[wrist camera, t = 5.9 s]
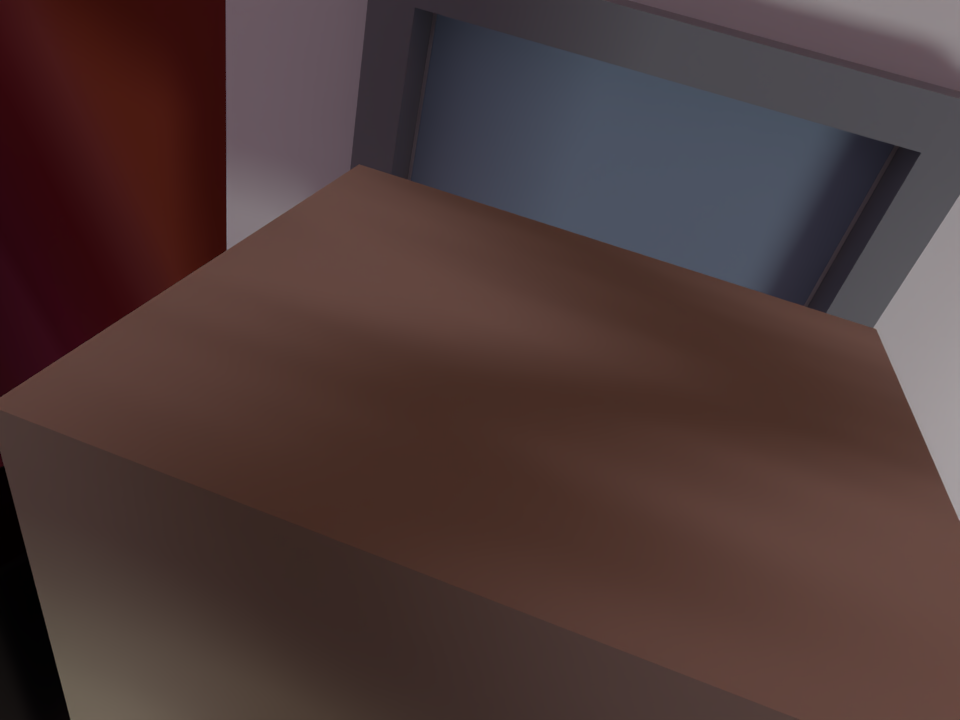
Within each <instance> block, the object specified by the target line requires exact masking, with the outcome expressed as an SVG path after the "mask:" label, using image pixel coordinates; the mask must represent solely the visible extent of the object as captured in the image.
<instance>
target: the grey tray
mask: <svg viewBox="0 0 960 720" xmlns="http://www.w3.org/2000/svg"><path fill="white" fill-rule="evenodd" d="M359 164H360V165H363V166H366V167H369V168H372V169H376V170H379V171H382V172H385V173H388V174H391V175H394V176H397V177H401V178H404V179H407V180H410V181H413V182H416V183H419V184H423V185H426V186H429V187H432V188H435V189H438V190H441V191H445V192H448V193H451V194H454V195H457V196H460V197H463V198H466V199H470V200H473V201H476V202H479V203H482V204H485V205H488V206H492V207H495V208H498V209H501V210H504V211H507V212H510V213H514V214H517V215H520V216H523V217H526V218H529V219H532V220H535V221H539V222H542V223H545V224H548V225H551V226H554V227H557V228H561V229H564V230H567V231H570V232H573V233H576V234H579V235H583V236H586V237H589V238H592V239H595V240H598V241H601V242H604V243H608V244H611V245H614V246H617V247H620V248H623V249H626V250H630V251H633V252H636V253H639V254H642V255H645V256H648V257H652V258H655V259H658V260H661V261H664V262H667V263H670V264H673V265H677V266H680V267H683V268H686V269H689V270H692V271H695V272H699V273H702V274H705V275H708V276H711V277H714V278H717V279H720V280H724V281H727V282H730V283H733V284H736V285H739V286H742V287H746V288H749V289H752V290H755V291H758V292H761V293H764V294H768V295H771V296H774V297H777V298H780V299H783V300H786V301H789V302H793V303H796V304H799V305H802V306H805V307H808V308H811V309H815V310H818V311H821V312H824V313H827V314H830V315H833V316H837V317H840V318H843V319H846V320H849V321H852V322H855V323H858V324H862V325H865V326H868V327H871V328H874V329H876V330H877V332H878V334H879V337H880V339H881V341H882V344H883V346H884V348H885V350H886V353H887V355H888V357H889V360H890V362H891V364H892V367H893V369H894V371H895V374H896V376H897V378H898V380H899V383H900V385H901V387H902V390H903V392H904V394H905V397H906V399H907V401H908V403H909V406H910V408H911V410H912V413H913V415H914V417H915V420H916V422H917V424H918V427H919V429H920V431H921V433H922V436H923V438H924V440H925V443H926V445H927V447H928V450H929V452H930V454H931V456H932V459H933V461H934V463H935V466H936V468H937V470H938V473H939V475H940V477H941V480H942V482H943V484H944V486H945V489H946V491H947V493H948V496H949V498H950V500H951V503H952V505H953V507H954V510H955V512H956V514H957V516H958V519H959V521H960V0H226V209H227V250H228V249H230V248H231V247H233V246H234V245H236V244H237V243H239V242H240V241H242V240H243V239H245V238H246V237H248V236H250V235H251V234H253V233H254V232H256V231H257V230H259V229H260V228H262V227H263V226H265V225H266V224H268V223H270V222H271V221H273V220H274V219H276V218H277V217H279V216H280V215H282V214H283V213H285V212H286V211H288V210H290V209H291V208H293V207H294V206H296V205H297V204H299V203H300V202H302V201H303V200H305V199H306V198H308V197H310V196H311V195H313V194H314V193H316V192H317V191H319V190H320V189H322V188H323V187H325V186H326V185H328V184H330V183H331V182H333V181H334V180H336V179H337V178H339V177H340V176H342V175H343V174H345V173H346V172H348V171H350V170H351V169H353V168H354V167H356V166H357V165H359Z"/></svg>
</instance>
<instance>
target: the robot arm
mask: <svg viewBox="0 0 960 720" xmlns="http://www.w3.org/2000/svg"><path fill="white" fill-rule="evenodd" d="M0 720H71V719H70V716H69V712H68V708H67V704H66V700H65V696H64V693H63V689H62V685H61V681H60V677H59V673H58V670H57V666H56V662H55V658H54V654H53V651H52V647H51V643H50V639H49V635H48V631H47V628H46V624H45V620H44V616H43V612H42V608H41V605H40V601H39V597H38V593H37V589H36V586H35V582H34V578H33V574H32V570H31V566H30V563H29V559H28V555H27V551H26V547H25V543H24V540H23V536H22V532H21V528H20V524H19V520H18V517H17V513H16V509H15V505H14V501H13V498H12V494H11V490H10V486H9V482H8V478H7V475H6V471H5V467H4V466H2V467H0Z"/></svg>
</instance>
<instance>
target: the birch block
mask: <svg viewBox="0 0 960 720" xmlns="http://www.w3.org/2000/svg"><path fill="white" fill-rule="evenodd" d="M0 452H1V455H2V459H3V463H4V467H5V471H6V475H7V478H8V482H9V486H10V490H11V494H12V498H13V501H14V505H15V509H16V513H17V517H18V520H19V524H20V528H21V532H22V536H23V540H24V543H25V547H26V551H27V555H28V559H29V563H30V566H31V570H32V574H33V578H34V582H35V586H36V589H37V593H38V597H39V601H40V605H41V608H42V612H43V616H44V620H45V624H46V628H47V631H48V635H49V639H50V643H51V647H52V651H53V654H54V658H55V662H56V666H57V670H58V673H59V677H60V681H61V685H62V689H63V693H64V696H65V700H66V704H67V708H68V712H69V716H70V719H71V720H960V521H959V519H958V516H957V514H956V512H955V510H954V507H953V505H952V503H951V500H950V498H949V496H948V493H947V491H946V489H945V486H944V484H943V482H942V480H941V477H940V475H939V473H938V470H937V468H936V466H935V463H934V461H933V459H932V456H931V454H930V452H929V450H928V447H927V445H926V443H925V440H924V438H923V436H922V433H921V431H920V429H919V427H918V424H917V422H916V420H915V417H914V415H913V413H912V410H911V408H910V406H909V403H908V401H907V399H906V397H905V394H904V392H903V390H902V387H901V385H900V383H899V380H898V378H897V376H896V374H895V371H894V369H893V367H892V364H891V362H890V360H889V357H888V355H887V353H886V350H885V348H884V346H883V344H882V341H881V339H880V337H879V334H878V332H877V330H876V329H874V328H871V327H868V326H865V325H862V324H858V323H855V322H852V321H849V320H846V319H843V318H840V317H837V316H833V315H830V314H827V313H824V312H821V311H818V310H815V309H811V308H808V307H805V306H802V305H799V304H796V303H793V302H789V301H786V300H783V299H780V298H777V297H774V296H771V295H768V294H764V293H761V292H758V291H755V290H752V289H749V288H746V287H742V286H739V285H736V284H733V283H730V282H727V281H724V280H720V279H717V278H714V277H711V276H708V275H705V274H702V273H699V272H695V271H692V270H689V269H686V268H683V267H680V266H677V265H673V264H670V263H667V262H664V261H661V260H658V259H655V258H652V257H648V256H645V255H642V254H639V253H636V252H633V251H630V250H626V249H623V248H620V247H617V246H614V245H611V244H608V243H604V242H601V241H598V240H595V239H592V238H589V237H586V236H583V235H579V234H576V233H573V232H570V231H567V230H564V229H561V228H557V227H554V226H551V225H548V224H545V223H542V222H539V221H535V220H532V219H529V218H526V217H523V216H520V215H517V214H514V213H510V212H507V211H504V210H501V209H498V208H495V207H492V206H488V205H485V204H482V203H479V202H476V201H473V200H470V199H466V198H463V197H460V196H457V195H454V194H451V193H448V192H445V191H441V190H438V189H435V188H432V187H429V186H426V185H423V184H419V183H416V182H413V181H410V180H407V179H404V178H401V177H397V176H394V175H391V174H388V173H385V172H382V171H379V170H376V169H372V168H369V167H366V166H363V165H360V164H359V165H357V166H356V167H354V168H353V169H351V170H350V171H348V172H346V173H345V174H343V175H342V176H340V177H339V178H337V179H336V180H334V181H333V182H331V183H330V184H328V185H326V186H325V187H323V188H322V189H320V190H319V191H317V192H316V193H314V194H313V195H311V196H310V197H308V198H306V199H305V200H303V201H302V202H300V203H299V204H297V205H296V206H294V207H293V208H291V209H290V210H288V211H286V212H285V213H283V214H282V215H280V216H279V217H277V218H276V219H274V220H273V221H271V222H270V223H268V224H266V225H265V226H263V227H262V228H260V229H259V230H257V231H256V232H254V233H253V234H251V235H250V236H248V237H246V238H245V239H243V240H242V241H240V242H239V243H237V244H236V245H234V246H233V247H231V248H230V249H228V250H226V251H225V252H223V253H222V254H220V255H219V256H217V257H216V258H214V259H213V260H211V261H210V262H208V263H206V264H205V265H203V266H202V267H200V268H199V269H197V270H196V271H194V272H193V273H191V274H190V275H188V276H186V277H185V278H183V279H182V280H180V281H179V282H177V283H176V284H174V285H173V286H171V287H170V288H168V289H166V290H165V291H163V292H162V293H160V294H159V295H157V296H156V297H154V298H153V299H151V300H150V301H148V302H146V303H145V304H143V305H142V306H140V307H139V308H137V309H136V310H134V311H133V312H131V313H130V314H128V315H126V316H125V317H123V318H122V319H120V320H119V321H117V322H116V323H114V324H113V325H111V326H110V327H108V328H106V329H105V330H103V331H102V332H100V333H99V334H97V335H96V336H94V337H93V338H91V339H90V340H88V341H86V342H85V343H83V344H82V345H80V346H79V347H77V348H76V349H74V350H73V351H71V352H70V353H68V354H66V355H65V356H63V357H62V358H60V359H59V360H57V361H56V362H54V363H53V364H51V365H50V366H48V367H46V368H45V369H43V370H42V371H40V372H39V373H37V374H36V375H34V376H33V377H31V378H30V379H28V380H26V381H25V382H23V383H22V384H20V385H19V386H17V387H16V388H14V389H13V390H11V391H10V392H8V393H7V394H5V395H3V396H2V397H0Z"/></svg>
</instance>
